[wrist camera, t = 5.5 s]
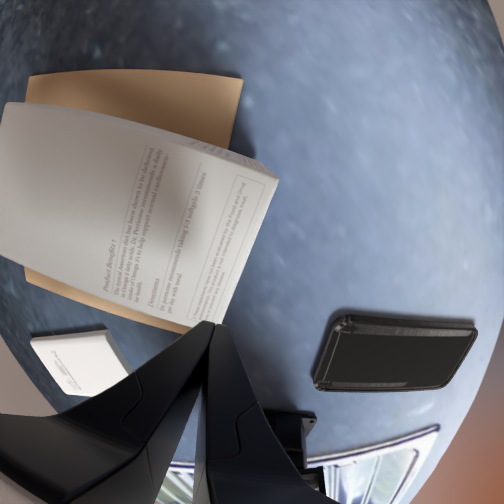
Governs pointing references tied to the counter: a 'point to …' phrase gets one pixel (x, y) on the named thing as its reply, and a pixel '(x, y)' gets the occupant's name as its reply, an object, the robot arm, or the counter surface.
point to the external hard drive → (83, 361)
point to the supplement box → (128, 210)
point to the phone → (391, 354)
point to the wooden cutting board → (145, 112)
